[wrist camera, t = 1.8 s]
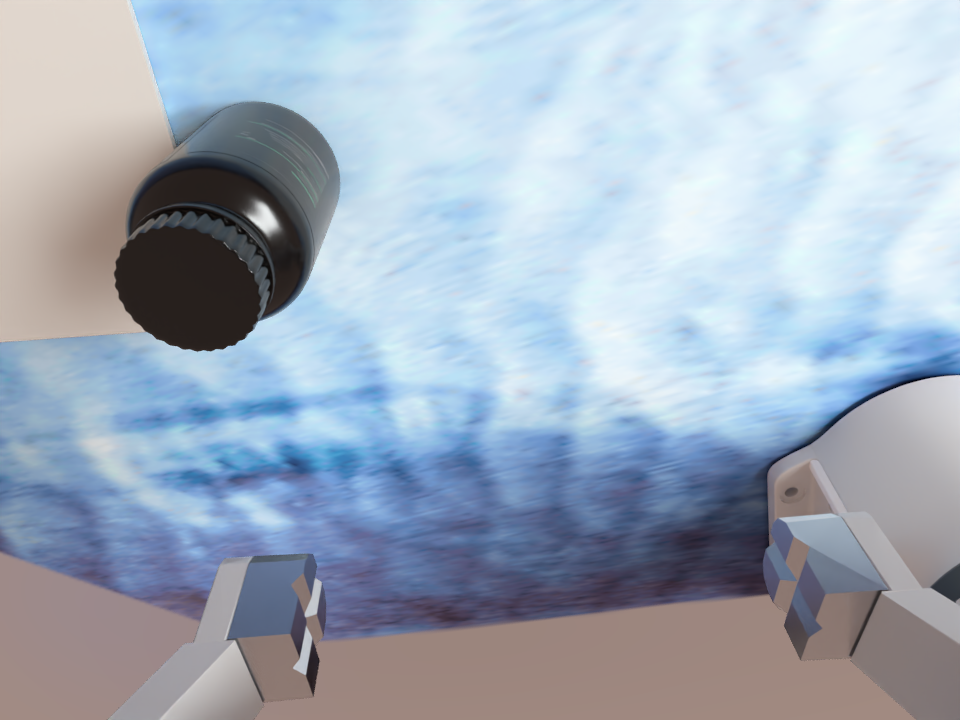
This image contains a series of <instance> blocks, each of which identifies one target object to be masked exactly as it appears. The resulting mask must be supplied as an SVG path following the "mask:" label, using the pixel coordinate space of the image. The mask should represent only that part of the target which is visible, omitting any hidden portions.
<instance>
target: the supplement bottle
mask: <svg viewBox="0 0 960 720" xmlns="http://www.w3.org/2000/svg"><path fill="white" fill-rule="evenodd" d="M339 193H340V174H339V169H338V165H337V161H336V158H335V156H334V154H333V151H332V149H331V148H330V146H329V144H328V142H327V141H326V140H325V138H324V137H323V135H322V134H321V133H320V132H319V131H318V130H317V129H316V128H315V127H314V126H313V125H312V124H311V123H310V122H309V121H308V120H306V119H305V118H303V117H302V116H301V115H299V114H297V113H295V112H294V111H292V110H289V109H287V108H285V107H282V106H279V105H275V104H271V103H265V102H245V103H239V104H236V105H233V106H230V107H227V108H225V109H223V110H222V111H220V112H218V113H217V114H215V115H214V116H212V117H211V118H210V119H209V120H207V121H206V122H205V123H204V124H203V125H202V126H201V127H199V128H198V129H197V130H196V131H195V132H194V133H193V134H191V135H190V136H189V137H188V138H187V139H186V140H185V141H184V142H182V143H181V144H180V145H179V146H178V147H177V148H176V149H175V150H173V151H172V152H171V153H170V154H169V155H168V156H167V157H166V158H164V159H163V160H162V161H161V162H160V163H159V164H158V165H156V166H155V167H154V168H153V169H152V170H151V171H150V172H149V173H148V174H147V175H146V176H145V177H144V178H143V179H142V181H141V182H140V183H139V184H138V186H137V187H136V189H135V190H134V192H133V194H132V196H131V198H130V201H129V204H128V208H127V212H126V220H125V232H126V240H127V242H126V243H125V244H124V245H123V246H122V247H121V249H120V255H119V256H118V258H117V259H116V261H115V263H116V269H115V271H114V277H115V279H116V282H115V288H116V289H117V291H118V293H119V295H118V298H119V300H120V301H121V302H122V303H123V304H124V308H125V311H126V312H127V313H129V314H130V315H131V316H132V319H133V320H134V322H136V323H137V324H139V325H141V327H142V328H143V330H144V331H146V332H148V333H150V334H152V335H153V336H154V337H155V338H156V339H158V340H162V341H165V342H166V343H167V344H169V345H172V346H178V347H180V348H181V349H191V350H194V351H202V350H206V351H213V350H215V349H224V348H226V347H227V346H233V345H235V344H236V343H237V342H238V341H240V340H243V339H245V338H246V337H247V335H248V333H250V332H251V331H253V330H254V329H255V327H256V325H257V323H258V321H261V320H265V319H267V318H269V317H272V316H274V315H276V314H278V313H279V312H281V311H282V310H284V309H285V308H287V307H288V306H289V305H290V304H291V303H292V302H293V301H294V300H295V299H296V298H297V297H298V296H299V294H300V293H301V291H302V290H303V288H304V286H305V284H306V283H307V281H308V279H309V276H310V274H311V271H312V269H313V266H314V264H315V261H316V258H317V256H318V253H319V251H320V248H321V246H322V243H323V240H324V238H325V235H326V233H327V230H328V227H329V225H330V222H331V220H332V217H333V215H334V212H335V209H336V206H337V202H338V199H339Z"/></svg>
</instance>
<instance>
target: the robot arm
mask: <svg viewBox="0 0 960 720" xmlns="http://www.w3.org/2000/svg"><path fill="white" fill-rule="evenodd" d="M767 483H768V518H769V547H768V548H767V549H766V550H765V554H764V559H763V573H764V580H765V583H766V587H767V590H768V592H769V595H770V597H771V599H772V601H773V603H774V604H775V605H776V606H777V607H778V608H779V609H780V610H783V611H785V612H786V613H787V617H786V620H785V624H784V627H785V629H786V631H787V633H788V635H789V637H790V640H791V642H792V644H793V646H794V648H795V650H796V652H797V654H798V656H799V658H800V660H801V661H803V660H825V659H843V658H844V659H846V658H851V660H850V661H851V662H852V663H853V664H854V665H856V666H857V667H858V668H859V669H860V670H861V671H862V672H863V673H864V674H866V675H867V676H868V677H869V678H870V679H871V680H872V681H874V682H875V683H876V684H877V685H878V686H879V687H880V688H881V689H882V690H884V691H885V692H886V693H887V694H888V695H889V696H890V697H891V698H893V699H894V700H895V701H896V702H897V703H898V704H899V705H900V706H901V707H903V708H904V709H905V710H906V711H907V712H908V713H909V714H910V715H912V716H913V717H914V718H915V719H916V720H960V375H954V376H941V377H935V378H929V379H924V380H920V381H916V382H912V383H909V384H906V385H903V386H900V387H897V388H894V389H892V390H890V391H887V392H885V393H883V394H881V395H878V396H876V397H874V398H872V399H871V400H869V401H867V402H865V403H864V404H862V405H860V406H859V407H857V408H856V409H854V410H853V411H851V412H850V413H848V414H847V415H846V416H844V417H843V418H842V419H840V420H839V421H838V422H837V423H836V424H835V425H833V426H832V427H831V428H830V429H829V430H828V431H827V432H826V433H825V434H823V435H822V436H821V437H820V438H819V439H817V440H816V441H815V442H813V443H812V444H811V445H809V446H806V447H804V448H802V449H800V450H798V451H796V452H794V453H792V454H790V455H788V456H786V457H784V458H783V459H781V460H779V461H778V462H776V463H775V464H774V465H773V466H772V467H771V468H770V469H769V471H768V475H767ZM316 569H317V564H316V562H315V559H314V556H313V554H291V555H270V556H252V557H236V558H225V559H224V560H223V562H222V563H221V564H220V566H219V567H218V570H217V573H216V576H215V579H214V582H213V585H212V588H211V591H210V594H209V597H208V600H207V603H206V606H205V609H204V612H203V615H202V618H201V621H200V624H199V627H198V630H197V633H196V636H195V639H194V641H193V643H186V644H184V645H183V646H182V647H181V648H180V649H179V650H177V651H176V652H175V653H174V654H173V655H172V657H170V658H169V659H168V660H167V661H166V662H165V663H164V664H163V665H162V666H161V667H160V668H159V669H158V670H157V672H155V673H154V674H153V675H152V676H151V677H150V678H149V679H148V680H147V681H146V682H145V683H144V684H143V685H142V686H141V687H140V688H139V689H138V690H137V691H136V692H135V693H134V694H133V695H132V696H131V697H130V698H129V699H128V700H127V701H126V702H125V703H124V704H123V705H122V706H121V707H120V708H119V709H118V710H117V711H116V712H114V713H113V714H112V715H111V717H110V718H108V719H107V720H254V719H255V717H256V716H257V714H258V713H259V712H260V710H261V709H262V708H263V706H264V704H263V702H273V701H282V700H292V699H302V698H311V697H314V690H315V685H316V679H317V673H318V667H319V657H318V654H317V651H316V648H315V645H316V644H317V643H318V642H319V641H320V640H321V639H322V638H323V636H324V629H325V622H326V600H325V592H324V588H323V585H322V582H320V581H319V580H317V579H316V578H315V575H316Z"/></svg>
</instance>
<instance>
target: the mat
mask: <svg viewBox="0 0 960 720" xmlns="http://www.w3.org/2000/svg"><path fill="white" fill-rule="evenodd" d="M176 148H177V146H176V143H175V140H174V136H173V133H172V130H171V127H170V124H169V120H168V117H167V114H166V111H165V108H164V105H163V101H162V98H161V95H160V92H159V89H158V85H157V82H156V79H155V76H154V73H153V69H152V66H151V63H150V60H149V57H148V54H147V50H146V47H145V44H144V41H143V38H142V34H141V31H140V28H139V25H138V22H137V19H136V15H135V12H134V9H133V6H132V3H131V0H0V342H10V341H25V340H39V339H53V338H67V337H81V336H96V335H110V334H124V333H138V332H146V331H144V330H143V328H142V327H141V325H139V324H137V323H136V322H134V320H133V319H132V316H131V315H130V314H129V313H127V312H126V311H125V308H124V304H123V303H122V302H121V301H120V300H119V298H118V295H119V293H118V291H117V289H116V288H115V282H116V279H115V277H114V271H115V269H116V263H115V261H116V259H117V258H118V256H119V255H120V249H121V247H122V246H123V245H124V244H125V243H126V242H127V240H126V232H125V220H126V212H127V208H128V204H129V201H130V198H131V196H132V194H133V192H134V190H135V189H136V187H137V186H138V184H139V183H140V182H141V181H142V179H143V178H144V177H145V176H146V175H147V174H148V173H149V172H150V171H151V170H152V169H153V168H154V167H155V166H156V165H158V164H159V163H160V162H161V161H162V160H163V159H164V158H166V157H167V156H168V155H169V154H170V153H171V152H172V151H173V150H175V149H176Z"/></svg>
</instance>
